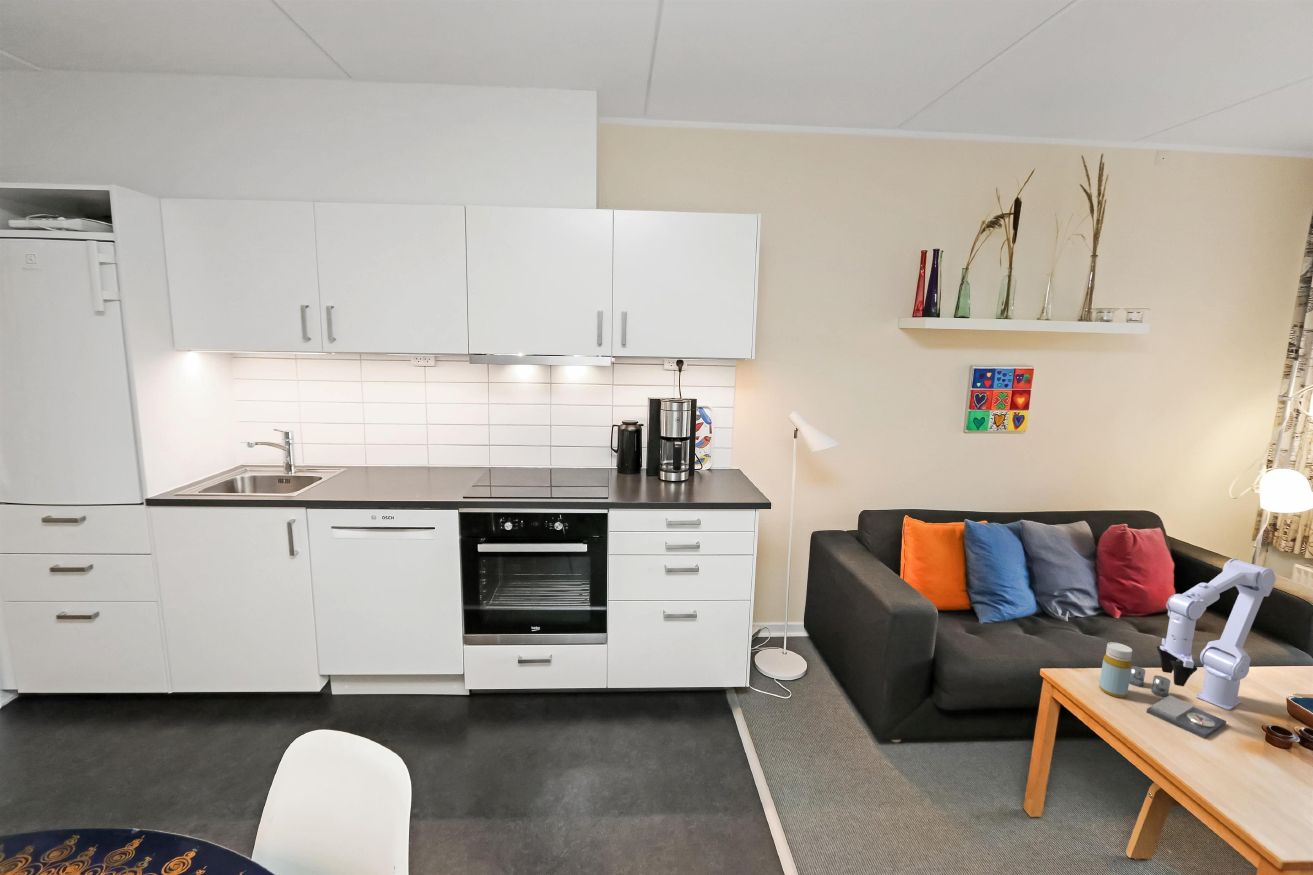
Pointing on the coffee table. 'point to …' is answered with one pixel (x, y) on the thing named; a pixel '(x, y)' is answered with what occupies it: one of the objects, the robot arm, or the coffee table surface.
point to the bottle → (1116, 670)
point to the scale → (1186, 716)
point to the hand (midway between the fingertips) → (1172, 678)
